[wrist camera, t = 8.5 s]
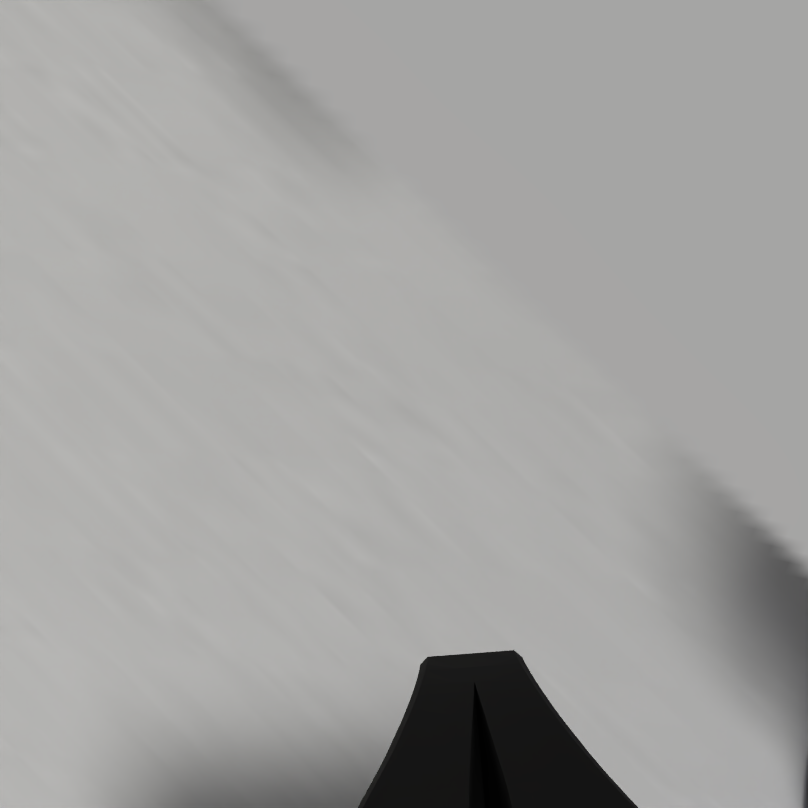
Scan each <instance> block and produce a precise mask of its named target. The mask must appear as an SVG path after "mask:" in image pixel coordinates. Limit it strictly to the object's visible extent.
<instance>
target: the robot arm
mask: <svg viewBox="0 0 808 808" xmlns="http://www.w3.org/2000/svg"><path fill="white" fill-rule="evenodd" d="M358 808H638V807H637V806H636V805H635V804H634V803H633V802H632V801H631V800H630V799H629V798H628V796H627V795H626V794H625V793H624V792H623V791H622V790H621V789H620V788H619V787H618V785H617V784H616V783H615V782H614V781H613V780H612V779H611V778H610V777H609V776H608V774H607V773H606V772H605V771H604V770H603V769H602V768H601V766H600V765H599V764H598V763H597V762H596V761H595V759H594V758H593V757H592V756H591V755H590V754H589V752H588V751H587V750H586V748H585V747H584V746H583V745H582V743H581V742H580V741H579V740H578V738H577V737H576V736H575V735H574V733H573V732H572V731H571V730H570V728H569V727H568V726H567V725H566V723H565V722H564V721H563V719H562V718H561V717H560V715H559V714H558V713H557V711H556V710H555V709H554V707H553V706H552V704H551V703H550V702H549V700H548V699H547V697H546V696H545V694H544V693H543V691H542V690H541V688H540V687H539V685H538V684H537V682H536V681H535V679H534V678H533V676H532V674H531V673H530V671H529V669H528V667H527V666H526V664H525V662H524V660H523V658H522V657H521V656H520V655H519V654H518V653H516V652H515V651H514V650H513V651H499V652H486V653H473V654H460V655H446V656H433V657H427V658H426V659H425V660H424V661H423V663H422V664H421V665H420V670H419V674H418V678H417V681H416V685H415V688H414V691H413V694H412V696H411V699H410V702H409V704H408V707H407V709H406V712H405V714H404V717H403V719H402V722H401V724H400V726H399V728H398V730H397V733H396V735H395V737H394V739H393V741H392V743H391V746H390V748H389V750H388V752H387V754H386V756H385V758H384V760H383V762H382V764H381V766H380V768H379V770H378V772H377V774H376V776H375V777H374V779H373V781H372V783H371V785H370V786H369V788H368V790H367V792H366V794H365V796H364V797H363V799H362V801H361V803H360V805H359V806H358Z"/></svg>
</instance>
